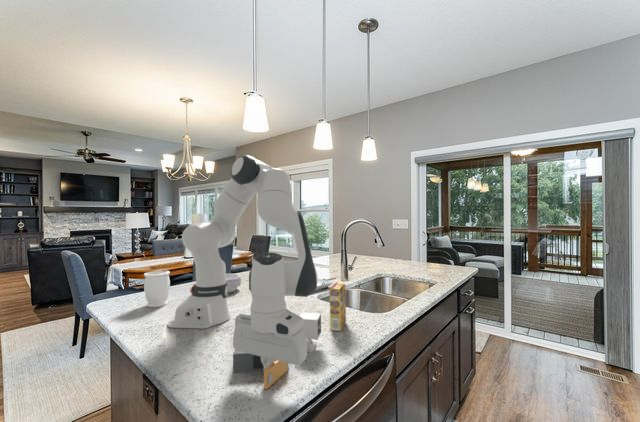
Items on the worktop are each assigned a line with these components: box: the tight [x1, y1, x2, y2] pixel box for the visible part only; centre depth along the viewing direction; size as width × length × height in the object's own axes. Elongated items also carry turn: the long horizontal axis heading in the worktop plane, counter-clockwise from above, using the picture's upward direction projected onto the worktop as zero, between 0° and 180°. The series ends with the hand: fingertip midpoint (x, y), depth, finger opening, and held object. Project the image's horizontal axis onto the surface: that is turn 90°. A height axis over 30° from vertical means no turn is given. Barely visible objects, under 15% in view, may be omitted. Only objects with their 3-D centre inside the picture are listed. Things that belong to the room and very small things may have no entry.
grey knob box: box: [232, 349, 276, 374], centre depth 82 cm, size 14×9×6 cm, turn 96°
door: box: [263, 360, 289, 390], centre depth 74 cm, size 10×2×5 cm, turn 153°
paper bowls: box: [226, 273, 242, 294], centre depth 157 cm, size 15×15×8 cm
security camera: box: [299, 312, 322, 353], centre depth 91 cm, size 6×7×10 cm
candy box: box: [329, 282, 347, 332], centre depth 107 cm, size 9×4×15 cm, turn 162°
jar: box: [143, 270, 171, 308], centre depth 134 cm, size 11×10×15 cm
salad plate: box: [313, 278, 334, 292], centre depth 162 cm, size 21×21×3 cm
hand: (268, 373), depth 73 cm, fingers closed, pressing on door
